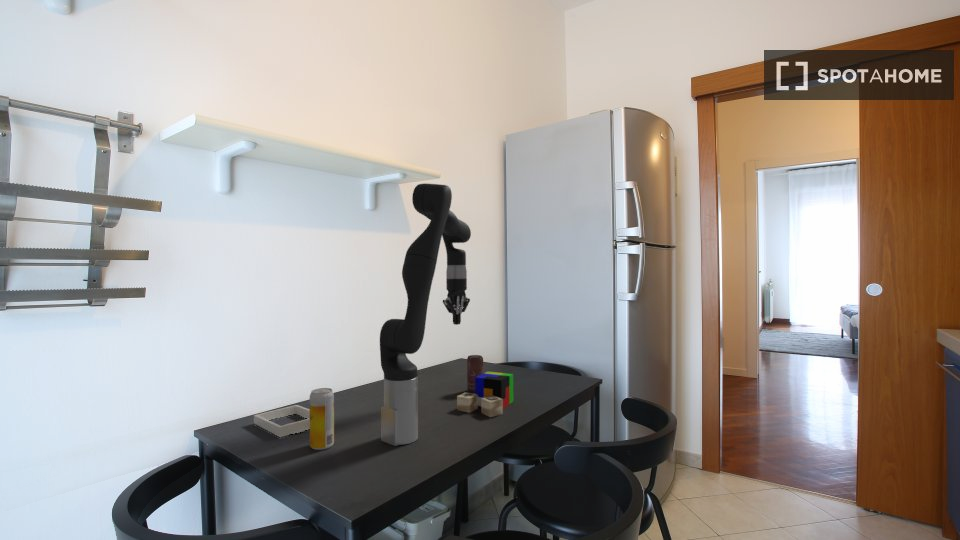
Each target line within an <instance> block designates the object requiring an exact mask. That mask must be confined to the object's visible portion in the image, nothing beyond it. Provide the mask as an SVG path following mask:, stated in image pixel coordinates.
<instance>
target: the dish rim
mask: <svg viewBox="0 0 960 540" xmlns="http://www.w3.org/2000/svg"><path fill="white" fill-rule="evenodd" d="M293 414H298V415H300V416H299V417H301V416H302V417H301V418H303V417H304V418H303V419H302V420H298V421H295V422H289V423H290V424H287V423H286V424H287V425H285V424H284V425H280V424H277V423H276V422H275V421H269V420H271V419H275V418H280V417H284V416H288V415H292V416H294V415H293ZM298 415H297V416H298ZM288 417H289V416H288ZM284 418H285V417H284ZM305 418H307V419H305ZM254 423H255V424H257V425H259V426H261V427H262V428H264V429H266V430H268V431H270V432H272V433H274V434H275V435H277V436H279V437H282V436H286V435H289V434H291V433H297V432H301V431H303V432H305V431H304V430H306V429H307V431H309V430H308V429H310V408H307V407H304V406H301V405H298V404H294V405H290V406H287V407H282V408H278V409H274V410H271V411H266V412H262V413H257V414H254V415H253V424H254ZM301 433H302V432H301ZM297 434H298V433H297Z"/></svg>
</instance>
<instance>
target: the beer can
mask: <svg viewBox="0 0 960 540" xmlns="http://www.w3.org/2000/svg"><path fill="white" fill-rule="evenodd" d="M334 393H335V392H333V389H332V388H329V387H322V388H317V389H316V388H315V389H312V390H311V392H310V394H309V409H310V430H309V447H310V448H311V449H312V450H314V451H324V450H327V449H329V448H331V447H332V446H333V445H334V444H335V394H334Z"/></svg>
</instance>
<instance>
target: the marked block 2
mask: <svg viewBox="0 0 960 540" xmlns="http://www.w3.org/2000/svg"><path fill="white" fill-rule="evenodd" d="M480 407H481V409H480V410H481V411H480V412H481V414H483V415H485V416H487V417H489V418H494V417H498V416H501V415H502V416H503V414H504V408H503V399H501V398H498V397H495V396H490V397H485V398H481V406H480Z"/></svg>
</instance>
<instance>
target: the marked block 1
mask: <svg viewBox="0 0 960 540" xmlns="http://www.w3.org/2000/svg"><path fill="white" fill-rule="evenodd" d="M478 407H479V406H478V395H477V394H473V393H469V392H463V393H461V394H459V395H457V396H456V410H457V411H458V412H459V411H460V412H465V413H472V412H474V411H476V410H478V409H479V408H478Z"/></svg>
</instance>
